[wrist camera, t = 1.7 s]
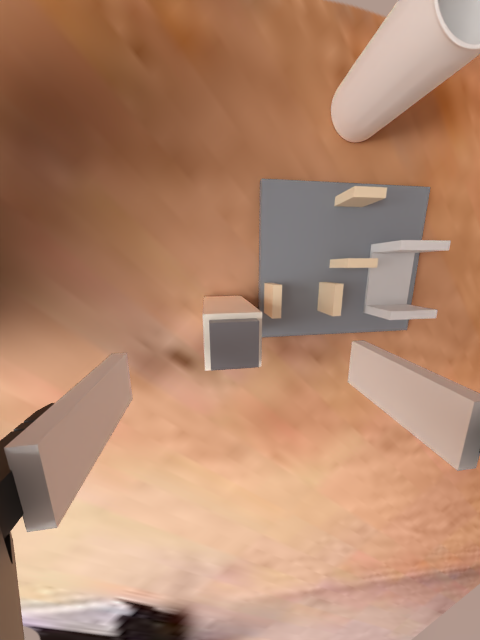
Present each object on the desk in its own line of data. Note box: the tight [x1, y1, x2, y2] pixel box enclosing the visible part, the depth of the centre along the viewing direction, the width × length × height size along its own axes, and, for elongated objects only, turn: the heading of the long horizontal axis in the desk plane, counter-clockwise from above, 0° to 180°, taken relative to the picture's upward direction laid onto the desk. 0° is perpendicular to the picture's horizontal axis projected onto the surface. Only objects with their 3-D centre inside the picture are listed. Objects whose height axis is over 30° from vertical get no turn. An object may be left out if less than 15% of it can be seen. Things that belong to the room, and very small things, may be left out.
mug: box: [331, 0, 480, 142], centre depth 19 cm, size 10×7×12 cm, turn 158°
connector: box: [203, 296, 262, 371], centre depth 22 cm, size 4×4×12 cm
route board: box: [259, 179, 451, 337], centre depth 26 cm, size 21×18×5 cm
